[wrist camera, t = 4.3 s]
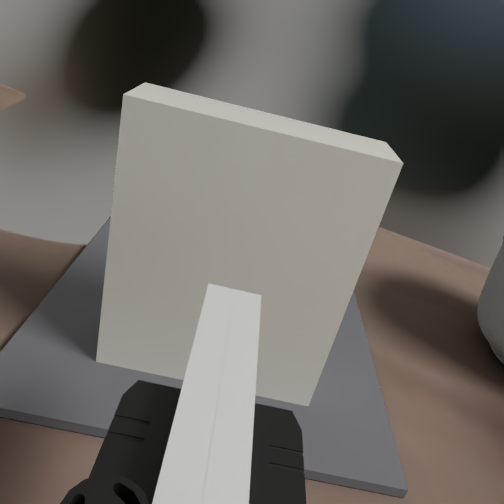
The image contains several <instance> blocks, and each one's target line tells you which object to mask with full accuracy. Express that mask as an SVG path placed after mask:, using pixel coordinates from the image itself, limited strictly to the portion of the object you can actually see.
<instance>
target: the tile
mask: <svg viewBox="0 0 504 504" xmlns="http://www.w3.org/2000/svg"><path fill="white" fill-rule="evenodd" d="M117 152H118V153H117V162H116V171H115V180H114V190H113V200H112V211H111V219H110V229H109V239H108V249H107V258H106V268H105V278H104V287H103V297H102V307H101V317H100V326H99V336H98V346H97V356H96V362H99V363H104V364H109V365H114V366H118V367H123V368H128V369H133V370H137V371H142V372H147V373H152V374H156V375H161V376H166V377H171V378H175V379H180V380H184V377H185V373H186V369H187V365H188V361H189V358H190V354H191V350H192V346H193V342H194V338H195V334H196V330H197V326H198V322H199V319H200V315H201V311H202V307H203V303H204V299H205V295H206V291H207V287H208V284H214V285H218V286H223V287H227V288H232V289H236V290H241V291H245V292H249V293H254V294H258V295H261V310H260V327H259V343H258V360H257V377H256V393H255V395H256V396H261V397H265V398H270V399H275V400H280V401H284V402H289V403H294V404H299V405H303V406H309V403H310V401H311V398H312V396H313V393H314V391H315V388H316V386H317V383H318V380H319V378H320V375H321V373H322V370H323V368H324V365H325V362H326V360H327V357H328V355H329V352H330V350H331V347H332V344H333V342H334V339H335V337H336V334H337V332H338V329H339V327H340V324H341V321H342V319H343V316H344V314H345V311H346V309H347V306H348V303H349V301H350V298H351V296H352V293H353V291H354V288H355V286H356V283H357V280H358V278H359V275H360V273H361V270H362V268H363V265H364V262H365V260H366V257H367V255H368V252H369V250H370V247H371V245H372V242H373V239H374V237H375V234H376V232H377V229H378V227H379V224H380V221H381V219H382V216H383V214H384V211H385V209H386V206H387V203H388V201H389V198H390V196H391V193H392V191H393V188H394V186H395V183H396V180H397V178H398V175H399V173H400V170H401V168H402V165H403V162H402V161H401V160H400V159H399V157H398V156H397V155H396V154H395V153H394V152H393V150H392V149H391V148H390V147H389V145H388V144H387V143H386V142H383V141H379V140H375V139H371V138H367V137H363V136H359V135H354V134H351V133H347V132H342V131H339V130H335V129H330V128H326V127H322V126H319V125H315V124H310V123H306V122H302V121H298V120H294V119H290V118H286V117H282V116H278V115H274V114H270V113H266V112H262V111H258V110H254V109H250V108H246V107H242V106H238V105H234V104H230V103H226V102H221V101H218V100H214V99H209V98H206V97H202V96H197V95H194V94H190V93H186V92H181V91H178V90H173V89H169V88H165V87H161V86H157V85H153V84H149V83H143V84H142V85H140V86H138V87H136V88H134V89H132V90H131V91H129V92H127V93H125V94H123V103H122V113H121V122H120V132H119V142H118V151H117Z"/></svg>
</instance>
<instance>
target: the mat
mask: <svg viewBox="0 0 504 504" xmlns="http://www.w3.org/2000/svg"><path fill="white" fill-rule="evenodd" d="M110 219H111V216H110V218H109V219H108V220H107V221H106V223H105V224H104V225H103V226H102V228H101V229H100V230H99V231H98V232H97V234H96V235H95V236H94V237H93V239H92V240H91V241H90V242H89V243H88V245H87V246H86V247H85V248H84V250H83V251H82V252H81V253H80V255H79V256H78V257H77V258H76V259H75V261H74V262H73V263H72V264H71V266H70V267H69V268H68V269H67V271H66V272H65V273H64V274H63V275H62V277H61V278H60V279H59V280H58V282H57V283H56V284H55V285H54V287H53V288H52V289H51V290H50V292H49V293H48V294H47V295H46V296H45V298H44V299H43V300H42V301H41V303H40V304H39V305H38V306H37V308H36V309H35V310H34V311H33V312H32V314H31V315H30V316H29V317H28V319H27V320H26V321H25V322H24V324H23V325H22V326H21V327H20V328H19V330H18V331H17V332H16V333H15V335H14V336H13V337H12V338H11V340H10V341H9V342H8V343H7V344H6V346H5V347H4V348H3V349H2V351H1V352H0V417H3V418H8V419H13V420H18V421H23V422H28V423H33V424H38V425H43V426H48V427H53V428H58V429H63V430H68V431H73V432H78V433H83V434H88V435H93V436H98V437H103V438H105V437H106V435H107V432H108V429H109V427H110V424H111V422H112V419H113V418H114V415H115V412H116V410H117V407H118V405H119V402H120V400H121V397H122V395H123V394H124V393H125V392H126V391H127V390H128V389H129V388H130V387H131V386H132V385H134V384H135V383H136V382H137V381H138V380H141V381H146V382H151V383H156V384H160V385H165V386H170V387H175V388H179V389H182V385H183V381H184V380H180V379H175V378H171V377H166V376H161V375H156V374H152V373H147V372H142V371H137V370H133V369H128V368H123V367H118V366H114V365H109V364H104V363H99V362H96V356H97V346H98V336H99V326H100V317H101V307H102V297H103V287H104V278H105V268H106V258H107V249H108V239H109V229H110ZM255 403H257V404H262V405H267V406H272V407H276V408H281V409H286V410H291V411H293V413H294V415H295V417H296V419H297V421H298V423H299V425H300V427H301V430H302V438H303V456H304V474H305V478H306V479H311V480H316V481H321V482H326V483H331V484H336V485H341V486H346V487H351V488H356V489H361V490H366V491H371V492H376V493H381V494H386V495H391V496H396V497H401V498H404V497H405V495H406V493H407V491H408V488H407V484H406V480H405V477H404V473H403V469H402V466H401V462H400V458H399V455H398V451H397V447H396V444H395V440H394V436H393V433H392V429H391V425H390V422H389V418H388V414H387V410H386V407H385V403H384V399H383V396H382V392H381V388H380V385H379V381H378V377H377V374H376V370H375V366H374V363H373V359H372V355H371V352H370V348H369V344H368V341H367V337H366V333H365V329H364V326H363V322H362V318H361V315H360V311H359V307H358V304H357V300H356V296H355V293H354V291H353V293H352V296H351V298H350V301H349V303H348V306H347V309H346V311H345V314H344V316H343V319H342V321H341V324H340V327H339V329H338V332H337V334H336V337H335V339H334V342H333V344H332V347H331V350H330V352H329V355H328V357H327V360H326V362H325V365H324V368H323V370H322V373H321V375H320V378H319V380H318V383H317V386H316V388H315V391H314V393H313V396H312V398H311V401H310V403H309V406H303V405H299V404H294V403H289V402H284V401H280V400H275V399H270V398H265V397H261V396H256V395H255Z"/></svg>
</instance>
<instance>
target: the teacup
mask: <svg viewBox="0 0 504 504" xmlns="http://www.w3.org/2000/svg"><path fill="white" fill-rule="evenodd" d="M503 239H504V237H503ZM477 318H478V322H479V326H480V328H481V331H482V333H483V334H484V336H485V338H486V339H487V341H488V342H489V343H490V346H491V349H492V350H493V352H494V354H495V355H496V357H497V358H498V359H499V360H500V361H501V362H502V363H503V364H504V240H503V244H502V246H501V248H500V250H499V253H498V255H497V257H496V259H495V261H494V264H493V266H492V268H491V270H490V272H489V275H488V277H487V279H486V282H485V284H484V287H483V290H482V292H481V295H480V298H479V302H478V307H477Z"/></svg>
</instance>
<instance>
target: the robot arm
mask: <svg viewBox="0 0 504 504" xmlns="http://www.w3.org/2000/svg"><path fill="white" fill-rule="evenodd" d="M260 310H261V295H258V294H254V293H249V292H245V291H241V290H236V289H232V288H227V287H223V286H218V285H214V284H208V287H207V291H206V295H205V299H204V303H203V307H202V311H201V315H200V319H199V322H198V326H197V330H196V334H195V338H194V342H193V346H192V350H191V354H190V358H189V361H188V365H187V369H186V373H185V377H184V381H183V385H182V389H179V388H175V387H170V386H165V385H160V384H156V383H151V382H146V381H141V380H138V381H137V382H136V383H135V384H134V385H132V386H131V387H130V388H129V389H128V390H127V391H126V392H125V393H124V394H123V395H122V397H121V400H120V402H119V405H118V407H117V410H116V412H115V415H114V418H113V419H112V422H111V424H110V427H109V429H108V432H107V435H106V437H105V439H104V442H103V444H102V446H101V449H100V451H99V454H98V456H97V459H96V461H95V464H94V466H93V469H92V471H91V474H90V476H89V478H88V479H85V480H83V481H82V482H80V483H79V484H78V485H76V486H75V487H73V488H72V489H71V490H69V492H68V493H67V495H66V496H65V497H64V499H63V500H62V502H61V503H60V504H306V491H305V474H304V456H303V438H302V430H301V427H300V425H299V423H298V421H297V419H296V417H295V415H294V413H293V411H291V410H286V409H281V408H276V407H272V406H267V405H262V404H257V403H255V393H256V377H257V360H258V343H259V327H260Z"/></svg>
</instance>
